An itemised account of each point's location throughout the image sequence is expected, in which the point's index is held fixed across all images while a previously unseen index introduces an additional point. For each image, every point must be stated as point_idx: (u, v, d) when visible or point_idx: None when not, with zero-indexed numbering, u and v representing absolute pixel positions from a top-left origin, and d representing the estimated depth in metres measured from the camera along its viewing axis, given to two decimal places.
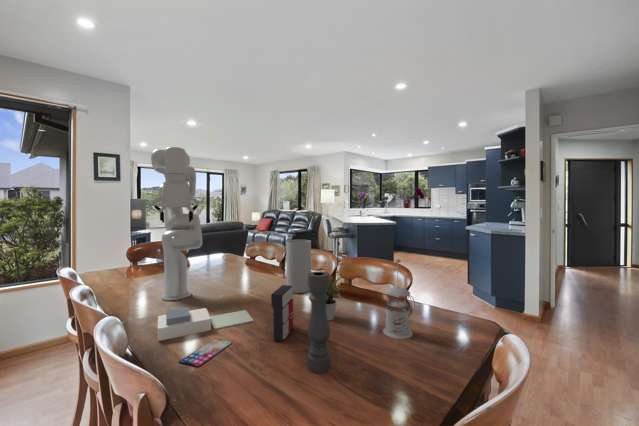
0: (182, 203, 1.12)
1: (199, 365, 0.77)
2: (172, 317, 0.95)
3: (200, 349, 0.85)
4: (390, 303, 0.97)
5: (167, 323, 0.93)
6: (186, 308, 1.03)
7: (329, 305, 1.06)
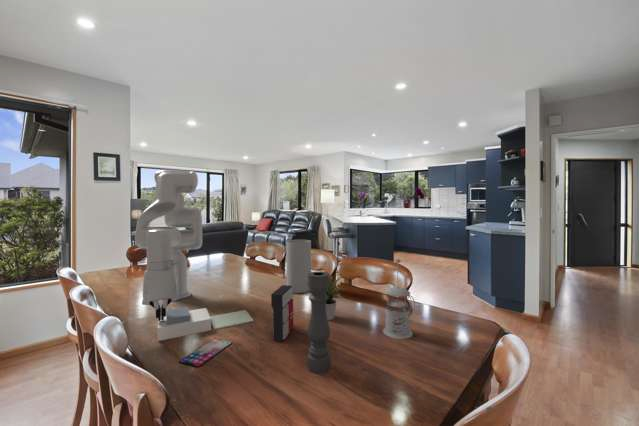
0: (167, 294, 0.95)
1: (199, 365, 0.77)
2: (172, 317, 0.95)
3: (200, 349, 0.85)
4: (390, 303, 0.97)
5: (167, 323, 0.93)
6: (186, 308, 1.03)
7: (329, 305, 1.06)
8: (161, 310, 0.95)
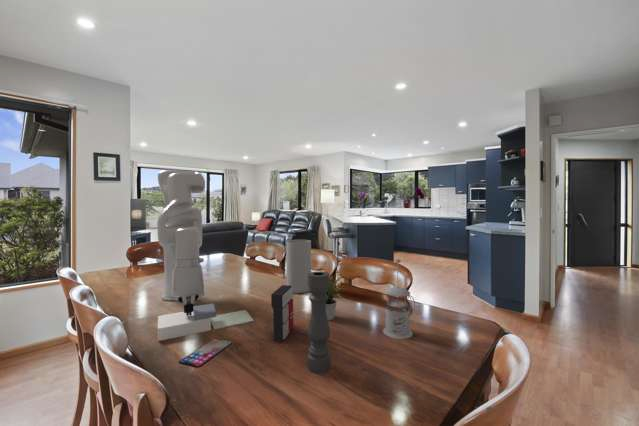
0: (195, 290, 0.99)
1: (200, 365, 0.77)
2: (199, 313, 0.98)
3: (200, 349, 0.85)
4: (390, 303, 0.97)
5: (195, 318, 0.97)
6: (212, 304, 1.06)
7: (329, 305, 1.06)
8: (189, 305, 0.99)
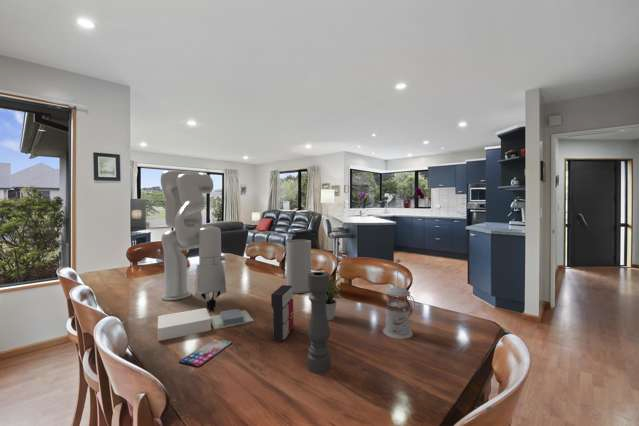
0: (217, 287, 1.03)
1: (200, 365, 0.77)
2: None
3: (200, 349, 0.85)
4: (390, 303, 0.97)
5: (242, 318, 1.04)
6: None
7: (329, 305, 1.06)
8: (212, 302, 1.03)
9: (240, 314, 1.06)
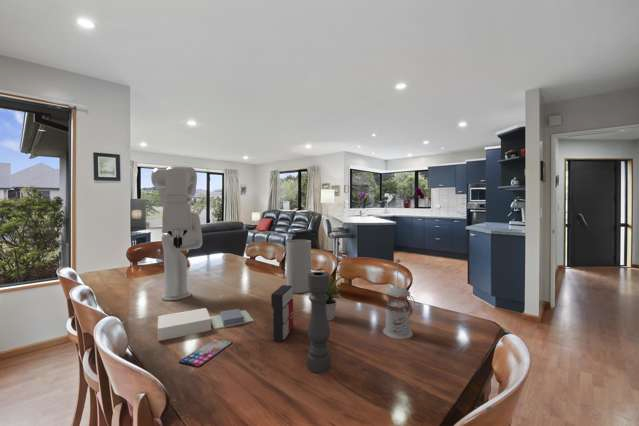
0: (183, 225, 1.09)
1: (200, 365, 0.77)
2: None
3: (200, 349, 0.85)
4: (390, 303, 0.97)
5: (242, 318, 1.04)
6: None
7: (329, 305, 1.06)
8: (178, 238, 1.09)
9: (240, 314, 1.06)
